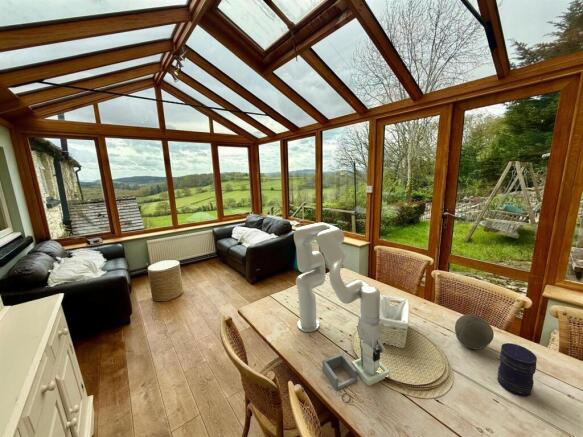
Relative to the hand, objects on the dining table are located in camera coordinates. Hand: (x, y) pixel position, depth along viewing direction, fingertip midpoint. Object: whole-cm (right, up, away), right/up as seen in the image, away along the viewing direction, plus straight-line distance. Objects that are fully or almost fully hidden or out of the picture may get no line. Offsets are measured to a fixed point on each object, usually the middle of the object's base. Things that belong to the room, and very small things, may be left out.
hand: (369, 353), depth 100 cm
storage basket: (+20, -3, +25) cm, 32 cm away
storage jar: (+53, -8, -9) cm, 54 cm away
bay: (-13, -10, 0) cm, 16 cm away
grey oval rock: (+53, -4, +12) cm, 55 cm away
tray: (+1, -9, +1) cm, 9 cm away
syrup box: (+1, -7, +1) cm, 7 cm away
